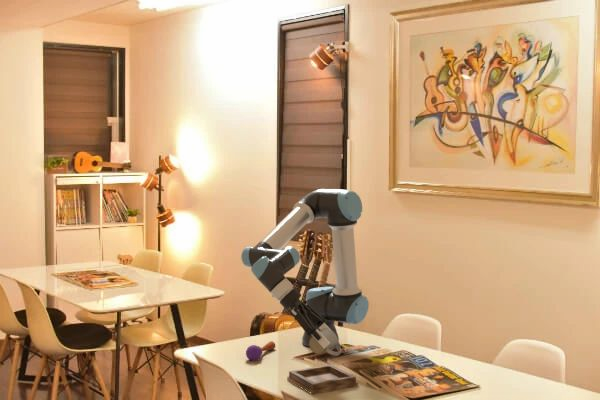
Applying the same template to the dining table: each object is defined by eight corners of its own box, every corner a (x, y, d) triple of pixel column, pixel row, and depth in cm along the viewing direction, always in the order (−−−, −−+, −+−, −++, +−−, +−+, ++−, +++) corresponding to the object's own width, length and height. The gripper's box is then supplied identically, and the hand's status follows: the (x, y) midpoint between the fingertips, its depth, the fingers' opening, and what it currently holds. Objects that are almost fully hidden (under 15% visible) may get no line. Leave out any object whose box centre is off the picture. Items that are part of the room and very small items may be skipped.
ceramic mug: (307, 353, 286) (307, 332, 285) (318, 348, 293) (319, 326, 292) (334, 358, 281) (335, 336, 280) (345, 352, 288) (346, 331, 287)
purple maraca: (279, 340, 332) (258, 349, 313) (276, 354, 332) (255, 364, 314) (266, 336, 334) (244, 344, 315) (263, 350, 334) (241, 359, 316)
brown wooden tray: (331, 372, 301) (331, 363, 300) (357, 386, 285) (357, 377, 285) (287, 379, 292) (287, 371, 292) (312, 394, 276) (312, 385, 276)
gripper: (288, 295, 301) (330, 341, 298) (269, 307, 280) (315, 357, 277) (302, 281, 299) (345, 328, 296) (284, 293, 278) (330, 343, 275)
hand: (330, 342), depth 286 cm, fingers closed on ceramic mug, 9 cm apart
